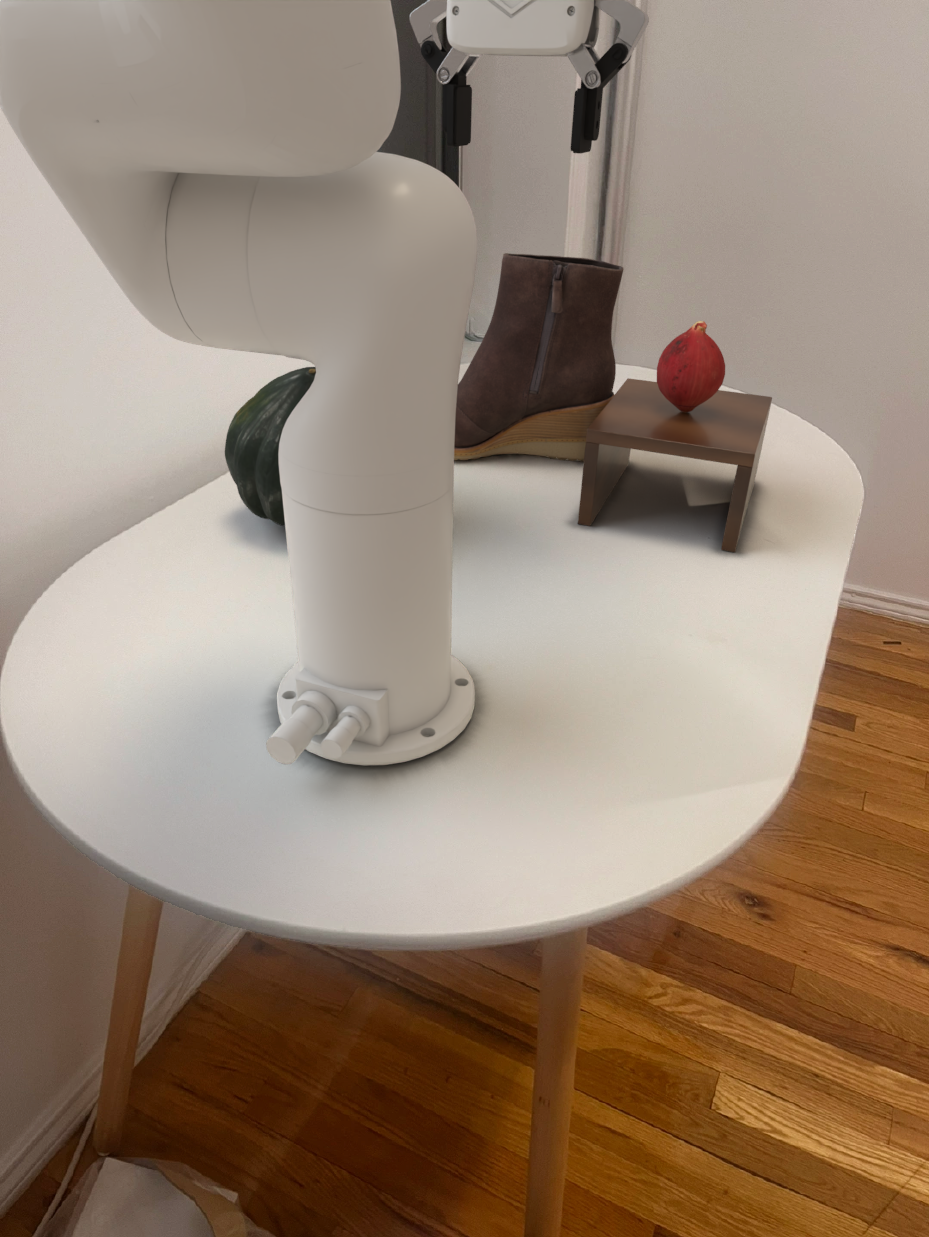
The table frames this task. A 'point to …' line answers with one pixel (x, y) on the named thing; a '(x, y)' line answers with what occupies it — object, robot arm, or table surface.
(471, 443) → the boot
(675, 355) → the onion
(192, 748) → the table surface
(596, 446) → the walnut shelf
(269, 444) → the squash
